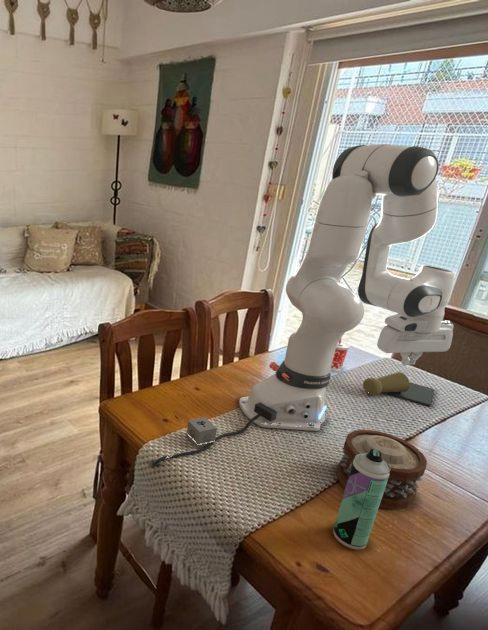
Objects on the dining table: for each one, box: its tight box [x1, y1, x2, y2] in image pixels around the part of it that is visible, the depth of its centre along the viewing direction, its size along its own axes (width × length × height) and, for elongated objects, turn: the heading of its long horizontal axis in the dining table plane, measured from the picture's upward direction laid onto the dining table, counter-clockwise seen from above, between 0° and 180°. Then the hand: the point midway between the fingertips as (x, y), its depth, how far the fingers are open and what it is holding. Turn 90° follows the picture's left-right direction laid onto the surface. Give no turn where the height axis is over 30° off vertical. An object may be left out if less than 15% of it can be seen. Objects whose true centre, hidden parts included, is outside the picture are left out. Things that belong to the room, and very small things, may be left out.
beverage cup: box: [330, 336, 351, 372], centre depth 146 cm, size 6×6×14 cm
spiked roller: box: [336, 429, 428, 510], centre depth 95 cm, size 15×11×15 cm
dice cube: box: [185, 416, 218, 450], centre depth 111 cm, size 5×5×5 cm
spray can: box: [332, 449, 390, 551], centre depth 80 cm, size 6×6×20 cm
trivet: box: [381, 381, 435, 407], centre depth 134 cm, size 12×12×1 cm
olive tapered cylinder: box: [362, 371, 410, 396], centre depth 132 cm, size 6×6×11 cm
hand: (407, 364), depth 131 cm, fingers closed
